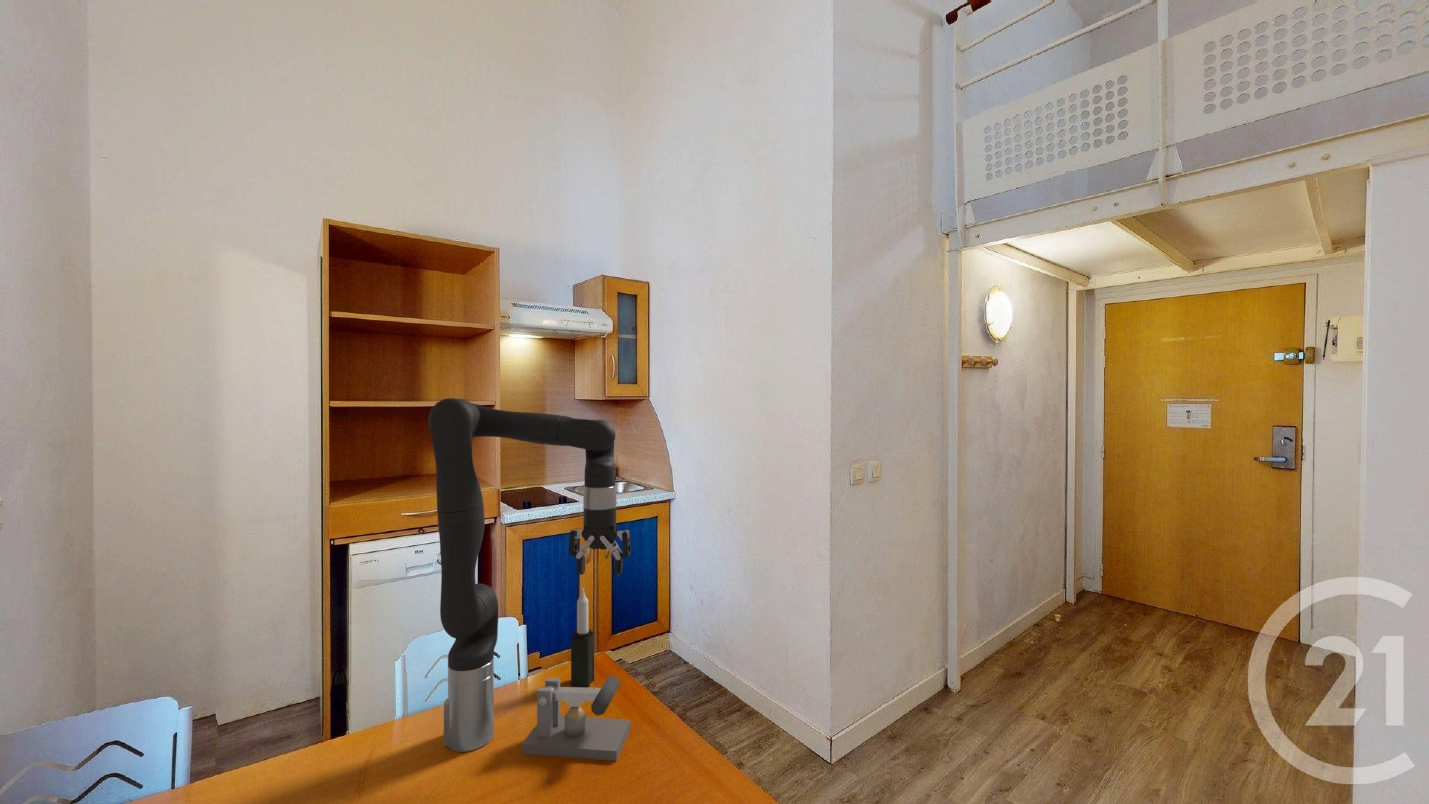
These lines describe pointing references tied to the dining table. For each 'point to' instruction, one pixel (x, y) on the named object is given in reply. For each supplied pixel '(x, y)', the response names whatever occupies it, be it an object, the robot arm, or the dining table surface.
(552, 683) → the base
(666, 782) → the dining table surface
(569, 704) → the lever
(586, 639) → the black and grey rod
